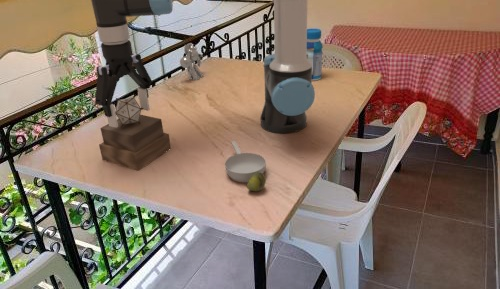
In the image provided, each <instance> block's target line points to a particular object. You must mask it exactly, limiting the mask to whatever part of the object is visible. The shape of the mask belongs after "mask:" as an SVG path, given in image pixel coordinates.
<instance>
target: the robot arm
mask: <svg viewBox="0 0 500 289" xmlns="http://www.w3.org/2000/svg"><path fill="white" fill-rule="evenodd" d="M90 1H91V6H92V10H93V14H94V18H95V23H96V28H97V32H98V38H99V41H100V42H101V44H100V48H101V52H102V57H103V58H104V60H105V65H102V66H99V65H97V67H96V74H97V77H96V78H97V80H96V89H95V99H94V104H95V105H97V106H100V107H101V106H102V109H103V112H104V116H105V117H107V123H108V124H109V126H111V127H116V128H117V127H118V122H117V119H118V117H117V115H116V113H115V111H116V108H115V105H114V103H112V102H113V98H114V94H115V92H116V88H117V86H118V82H119V81H120V79H121V78H123V77H125V76H129V77H130V78H131V79H132V80H133V81H134V82H135V84H136V85H137V86H139V87H137V93H138V99H139V106H140V108H144V109H143V110H142V111H147V112H149V111H150V104H149V91H148V90H149V89H150V88H151V84H152V83H153V80H152V78H151V76H150V74H149V73H148V71H147V69H146V67H145V65H144V64H143V61H142V56H141V54H137V53H133V48H132V43H131V40H130V38H131V36H130V32H129V26H128V20H127V18H129V17H130V18H132V17H143V16H162V15H170V14H171V13H172V12H173V6H174V3H173V0H90ZM308 1H309V0H273V17H274V20H273V22H274V23H273V24H274V26H273V27H274V53H273V54H268V55H267V56H265V57H264V59H263V67H264V68H263V72H264V104H263V108H262V111H261V114H260V119H259V120H260V126H261V128H262V129H264V130H265V131H267V132H268V131H269V132H271V133H276V134H289V133H291V134H292V133H296V132H299V131H301V130H303V129H304V128H305V127H306V126H307V124H308V123H307V118H308V117H307V113H306V112H307V111H308V110H309V109H310V108H311V107H312V105H313V103H314V101H315V98H316V96H315V95H316V91H315V87H314V84H312V82H313V81H312V64H311V62H310V61H308V60H307V58H306V53H307V29H308Z"/></svg>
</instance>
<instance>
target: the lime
mask: <svg viewBox="0 0 500 289" xmlns="http://www.w3.org/2000/svg"><path fill="white" fill-rule="evenodd" d="M246 183H247V184H246V189H248V190H249V191H251V192H259V191H261V190H262V189H264V188H265V185H266V177H265V175H264V173H263V174H262V173H261V172H257V173H255V174H254V175H253V176H252V177H251V178H250V180H249V181H248V182H246Z"/></svg>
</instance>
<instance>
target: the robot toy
mask: <svg viewBox="0 0 500 289" xmlns="http://www.w3.org/2000/svg"><path fill="white" fill-rule="evenodd" d="M197 49H198V48H197V46H195V45H193V44H192V42H190V43H187V44H184V49H183V50H184V54H185V55H186V56H182V57H181V58H180V59H179V65H180V66H181V67H182V68H185V69H187V74H188V75H189V77H188V78H187V79H188V80H191V81H192V80H193V81H198V80H200V78H203V77H204V73H203V72H202V71H200V67H201V64H202V61H203V58H204V57H203V56H204V55H203V54H202V53H199V52H198V51H197ZM195 62H197V64H195Z"/></svg>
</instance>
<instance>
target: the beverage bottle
mask: <svg viewBox="0 0 500 289" xmlns="http://www.w3.org/2000/svg"><path fill="white" fill-rule="evenodd" d="M321 38H322V30H321V29H319V28H307V53H306V58H307V60H308V61H310V62H311V64H312V82H313V81H319V80H321V79H322V66H323V63H322V62H323V56H324V53H323V52H324V51H323V48H324V46H323V43H322V41H321Z"/></svg>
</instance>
